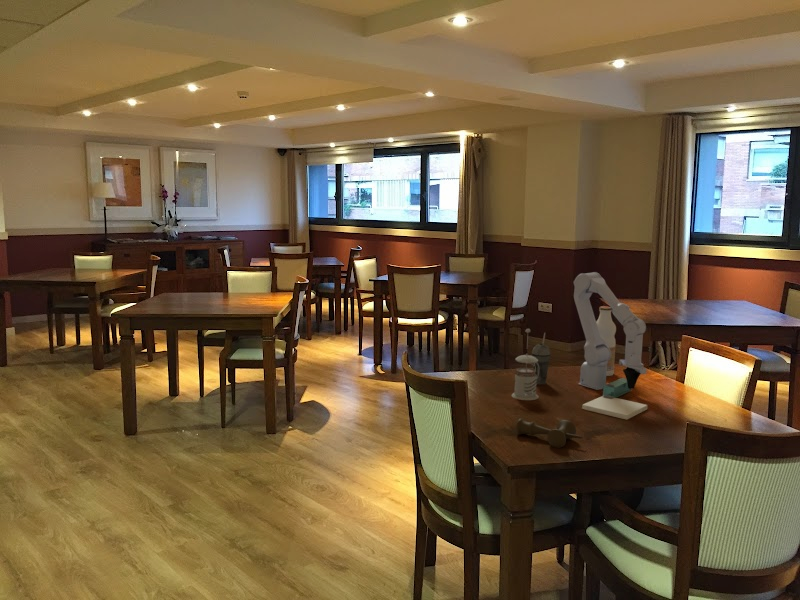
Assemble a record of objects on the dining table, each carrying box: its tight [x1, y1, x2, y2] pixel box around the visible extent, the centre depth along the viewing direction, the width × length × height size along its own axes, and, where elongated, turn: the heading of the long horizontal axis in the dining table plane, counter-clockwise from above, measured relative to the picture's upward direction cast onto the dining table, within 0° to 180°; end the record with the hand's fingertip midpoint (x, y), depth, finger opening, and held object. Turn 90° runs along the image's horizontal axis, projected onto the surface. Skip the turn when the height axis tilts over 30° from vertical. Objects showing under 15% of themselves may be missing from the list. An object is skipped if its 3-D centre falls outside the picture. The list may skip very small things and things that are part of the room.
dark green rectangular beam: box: [602, 377, 632, 398], centre depth 245 cm, size 16×4×5 cm, turn 138°
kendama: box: [515, 418, 584, 449], centre depth 197 cm, size 6×10×20 cm
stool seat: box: [581, 395, 648, 420], centre depth 228 cm, size 16×16×2 cm
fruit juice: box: [596, 305, 617, 377], centre depth 274 cm, size 9×9×28 cm
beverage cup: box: [531, 332, 552, 386], centre depth 259 cm, size 7×7×20 cm
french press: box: [511, 328, 539, 401], centre depth 241 cm, size 10×12×25 cm
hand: (631, 388), depth 246 cm, fingers closed
